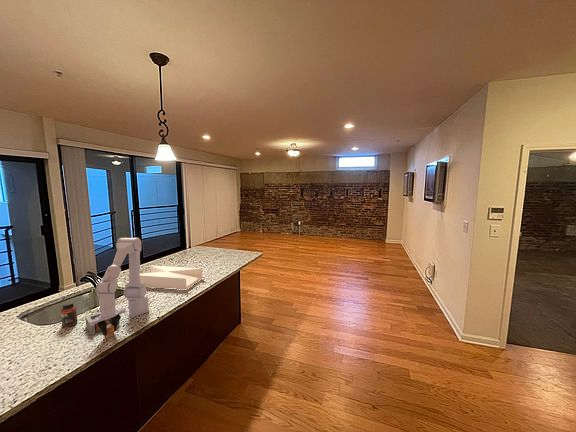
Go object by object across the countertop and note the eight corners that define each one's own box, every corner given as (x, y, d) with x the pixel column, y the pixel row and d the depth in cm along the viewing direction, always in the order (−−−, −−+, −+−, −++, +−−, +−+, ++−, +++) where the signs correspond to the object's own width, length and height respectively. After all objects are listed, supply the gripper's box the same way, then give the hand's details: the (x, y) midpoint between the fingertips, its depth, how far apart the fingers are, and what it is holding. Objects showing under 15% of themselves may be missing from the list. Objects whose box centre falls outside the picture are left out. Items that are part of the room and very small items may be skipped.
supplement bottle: (76, 320, 130) (74, 299, 129) (78, 324, 127) (77, 303, 126) (61, 324, 126) (59, 303, 125) (63, 328, 122) (61, 307, 121)
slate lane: (113, 317, 133) (112, 308, 133) (119, 325, 126) (118, 316, 125) (86, 326, 125) (85, 316, 124) (91, 335, 117) (90, 325, 116)
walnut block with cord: (105, 323, 127) (104, 314, 126) (116, 334, 117) (116, 324, 117) (93, 328, 123) (92, 318, 122) (104, 339, 113) (103, 329, 113)
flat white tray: (202, 280, 192) (202, 268, 191) (186, 291, 170) (186, 278, 169) (150, 276, 198) (150, 265, 197) (129, 287, 177) (128, 274, 176)
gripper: (119, 298, 123) (120, 323, 124) (85, 310, 110) (87, 338, 112) (127, 301, 120) (129, 327, 121) (93, 313, 107) (95, 343, 108)
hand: (109, 333), depth 116 cm, fingers closed on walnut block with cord, 3 cm apart
